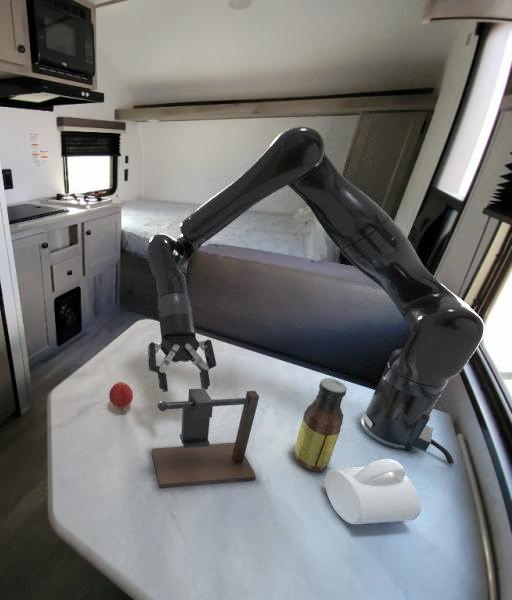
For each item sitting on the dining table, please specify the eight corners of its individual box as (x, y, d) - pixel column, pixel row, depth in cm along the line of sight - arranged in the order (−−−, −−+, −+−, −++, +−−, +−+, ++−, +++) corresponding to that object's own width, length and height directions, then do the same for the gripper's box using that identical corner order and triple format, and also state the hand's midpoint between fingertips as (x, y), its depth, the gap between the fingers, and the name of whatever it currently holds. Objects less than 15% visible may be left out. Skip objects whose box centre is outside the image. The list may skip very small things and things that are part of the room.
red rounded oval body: (105, 411, 79) (105, 386, 76) (114, 396, 84) (114, 371, 80) (128, 418, 77) (128, 392, 74) (135, 401, 82) (136, 377, 78)
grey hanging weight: (179, 437, 64) (182, 386, 61) (204, 435, 64) (207, 385, 61) (187, 457, 59) (190, 403, 55) (214, 455, 59) (218, 401, 56)
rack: (255, 480, 63) (275, 409, 54) (157, 488, 61) (163, 416, 53) (237, 445, 70) (253, 378, 62) (149, 452, 69) (153, 384, 60)
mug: (319, 487, 61) (338, 443, 56) (371, 484, 62) (394, 440, 56) (351, 535, 54) (376, 489, 48) (409, 531, 54) (440, 485, 49)
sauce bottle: (322, 451, 68) (352, 377, 60) (330, 477, 63) (364, 400, 54) (288, 443, 70) (312, 370, 62) (293, 467, 65) (320, 392, 56)
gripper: (147, 313, 69) (155, 391, 63) (212, 310, 69) (225, 387, 64) (142, 322, 76) (149, 393, 70) (201, 319, 77) (212, 389, 71)
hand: (185, 390), depth 67 cm, fingers open, 8 cm apart
